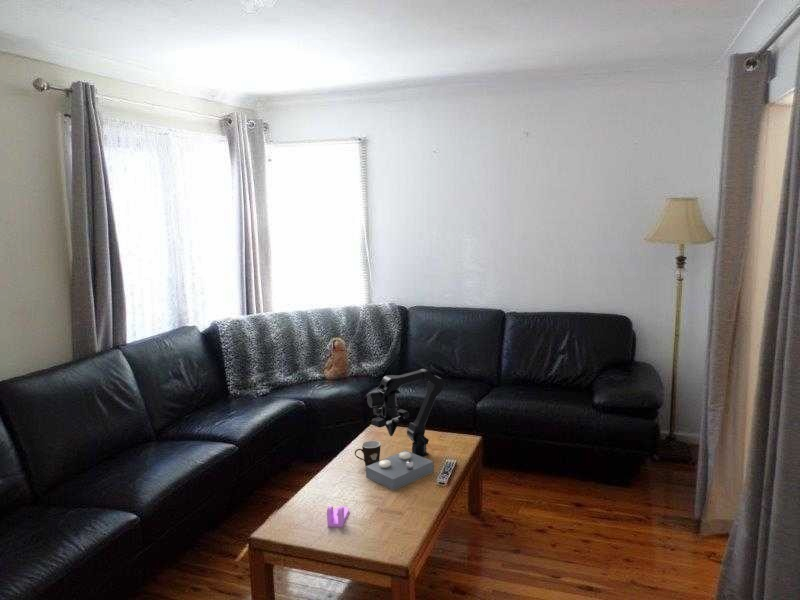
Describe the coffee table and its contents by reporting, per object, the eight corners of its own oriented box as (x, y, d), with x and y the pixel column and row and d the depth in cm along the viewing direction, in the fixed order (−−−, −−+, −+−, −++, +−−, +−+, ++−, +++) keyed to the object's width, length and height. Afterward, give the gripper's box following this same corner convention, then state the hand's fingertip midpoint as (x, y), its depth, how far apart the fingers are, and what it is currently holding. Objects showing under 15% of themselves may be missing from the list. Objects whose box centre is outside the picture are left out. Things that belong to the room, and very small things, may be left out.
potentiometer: (409, 466, 256) (409, 456, 255) (414, 468, 254) (414, 458, 253) (404, 468, 254) (404, 458, 253) (409, 470, 252) (409, 460, 251)
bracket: (342, 527, 218) (341, 510, 217) (327, 526, 219) (326, 509, 218) (350, 509, 230) (349, 493, 229) (336, 509, 231) (335, 492, 230)
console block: (405, 460, 274) (405, 450, 273) (433, 472, 261) (433, 461, 260) (366, 477, 258) (365, 466, 257) (393, 490, 245) (393, 479, 244)
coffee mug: (382, 460, 274) (381, 440, 272) (380, 469, 266) (379, 448, 264) (358, 460, 275) (357, 440, 274) (354, 468, 267) (353, 447, 265)
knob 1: (385, 467, 261) (385, 458, 260) (393, 471, 257) (393, 462, 256) (376, 471, 257) (376, 462, 257) (384, 475, 253) (384, 466, 253)
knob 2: (405, 459, 269) (405, 450, 268) (413, 462, 265) (412, 454, 264) (397, 463, 265) (396, 454, 265) (404, 466, 261) (404, 457, 261)
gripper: (393, 395, 281) (394, 426, 284) (363, 404, 269) (364, 436, 271) (409, 400, 273) (410, 431, 275) (379, 410, 261) (380, 443, 263)
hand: (391, 435), depth 271 cm, fingers closed
